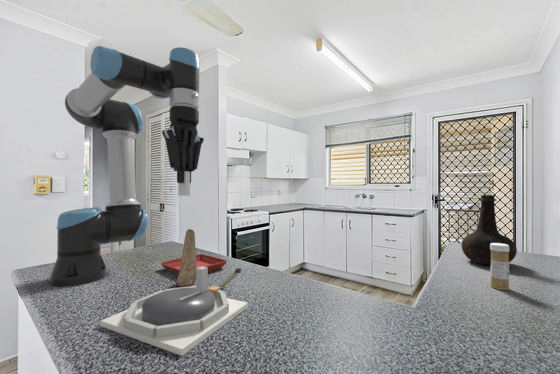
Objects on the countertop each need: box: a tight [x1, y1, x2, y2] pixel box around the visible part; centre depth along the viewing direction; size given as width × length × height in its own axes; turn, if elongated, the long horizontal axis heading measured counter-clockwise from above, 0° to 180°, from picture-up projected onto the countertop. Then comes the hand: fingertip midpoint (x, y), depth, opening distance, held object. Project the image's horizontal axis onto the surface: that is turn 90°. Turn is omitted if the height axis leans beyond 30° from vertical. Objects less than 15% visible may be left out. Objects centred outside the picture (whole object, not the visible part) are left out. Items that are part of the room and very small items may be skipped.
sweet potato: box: [175, 228, 197, 288], centre depth 84 cm, size 6×18×6 cm
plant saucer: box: [160, 253, 228, 276], centre depth 101 cm, size 18×18×3 cm
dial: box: [142, 266, 215, 326], centre depth 63 cm, size 16×16×8 cm
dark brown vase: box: [460, 194, 518, 267], centre depth 109 cm, size 18×18×28 cm
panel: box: [100, 285, 249, 357], centre depth 63 cm, size 24×22×4 cm
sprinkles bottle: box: [490, 243, 510, 291], centre depth 82 cm, size 5×5×14 cm
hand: (184, 195), depth 72 cm, fingers closed
